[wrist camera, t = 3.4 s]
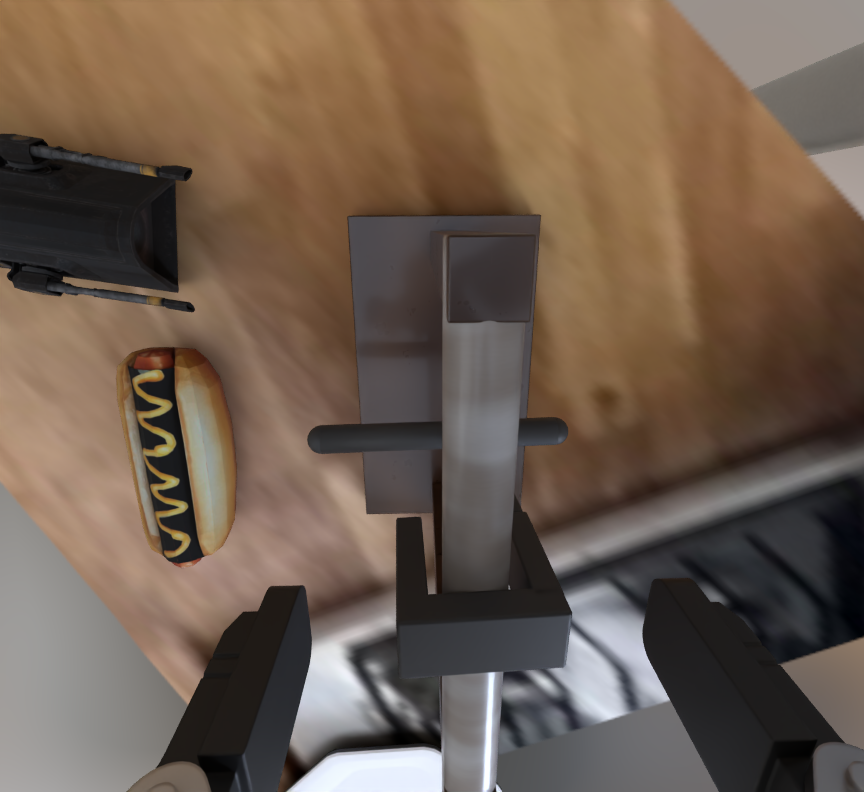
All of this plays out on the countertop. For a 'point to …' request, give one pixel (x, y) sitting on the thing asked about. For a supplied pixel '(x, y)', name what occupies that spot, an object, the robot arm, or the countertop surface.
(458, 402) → the rail stand
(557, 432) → the hanger
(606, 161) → the countertop surface
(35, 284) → the black toy vehicle
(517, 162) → the countertop surface
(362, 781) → the plate
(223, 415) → the hot dog
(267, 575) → the countertop surface
